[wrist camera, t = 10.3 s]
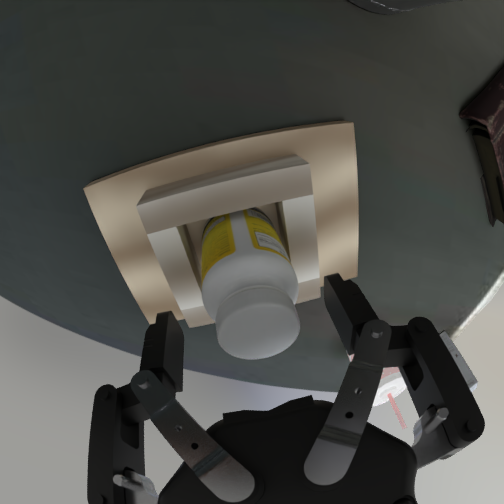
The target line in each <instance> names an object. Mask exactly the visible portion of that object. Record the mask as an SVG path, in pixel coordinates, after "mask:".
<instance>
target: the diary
mask: <svg viewBox="0 0 504 504" xmlns="http://www.w3.org/2000/svg"><path fill="white" fill-rule="evenodd" d="M459 117H460V118H461V119H463V118H468V119H472V120H474V121H473V122H472V123H471V124H470V126H469V128H468V130H469V129H472V128H478V129H477V130H476V132H475V133H474V134H473V138H474V141H475V144H476V147H477V151H478V154H479V157H480V161H481V164H482V168H483V172H484V174H483V176H482V177H481V178H480V179H481V183H482V187H483V191H484V196H485V201H486V206H487V211H488V216H489V220H490V222H491V225H492V227H494V224H495V221H496V220H497V219H498V220H499V221H501V222H502V223H504V67H503V68H502V69H501V70H500V71H499V73H498V74H497V75H496V76H495V77H494V79H493V80H492V81H491V82H490V83H489V84H488V86H487V87H486V88H485V89H484V90H483V91H482V92H481V93H480V94H479V95H478V96H477V97H476V98H475V99H474V100H473V101H472V102H471V103H470V104H469V105H468V106H467V107H466V108H465V109H464V110H463V111H462V112H461V113H460V114H459ZM468 130H467V131H468ZM467 131H466V132H467Z"/></svg>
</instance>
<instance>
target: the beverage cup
mask: <svg viewBox="0 0 504 504" xmlns="http://www.w3.org/2000/svg"><path fill="white" fill-rule="evenodd" d="M346 352H347V351H346ZM347 354H348V353H347ZM348 357H349V359H350V362H351V361H352V359H353V357H354V354H353V355H350V356H349V355H348ZM406 388H407V386H406V384H405V382H404V380H403V377H402V375H401V373H400V371H399V368H398V367H389V368H383V372H382V376H381V379H380V383H379V386H378V390H377V393H376V396H375V399H374V402H373V405H372V407H374V406H377V405H380V404H383V403H385V402H387V401H389V400H390V402H391V405H392V407H393V409H394V411H395V413H396V415H397V417H398V420H399V422H400V424H401V426H402V428H403V429H405V428H406V427H407V426H406V424H405V422H404V420H403V418H402V416H401V413H400V411H399V409H398V407H397V405H396V403H395V401H394V399H393V398H394V397H396V396H397V395H399V394H400V393H401V392H402V391H404V390H405V389H406Z"/></svg>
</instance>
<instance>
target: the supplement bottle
mask: <svg viewBox="0 0 504 504" xmlns="http://www.w3.org/2000/svg"><path fill="white" fill-rule="evenodd" d="M201 273H202V283H201V292H202V300H203V304H204V307H205V309H206V311H207V313H208V315H209V316H210V317H211V318H212V319H213V320H214V321H215V323H216V329H217V338H218V342H219V344H220V346H221V347H222V348H223V349H224V350H225V351H226V352H227V353H229V354H230V355H232V356H235V357H238V358H243V359H261V358H267V357H270V356H273V355H276V354H278V353H280V352H282V351H283V350H285V349H286V348H288V347H289V346H290V345H291V344H292V343H293V342H294V341H295V339H296V338H297V336H298V334H299V331H300V320H299V317H298V314H297V311H296V308H295V303H296V301H297V298H298V292H299V286H298V280H297V276H296V274H295V271H294V269H293V267H292V264H291V262H290V260H289V258H288V256H287V254H286V251H285V249H284V247H283V245H282V243H281V241H280V239H279V237H278V234H277V232H276V230H275V228H274V226H273V224H272V222H271V221H270V219H269V218H268V216H267V215H266V214H265V213H264V212H263V211H261V210H260V209H258V208H256V207H253V208H249V209H244V210H240V211H236V212H232V213H228V214H224V215H219V216H215V217H211V218H209V219H208V221H207V222H206V224H205V226H204V229H203V233H202V270H201Z"/></svg>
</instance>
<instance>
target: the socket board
mask: <svg viewBox="0 0 504 504" xmlns="http://www.w3.org/2000/svg"><path fill="white" fill-rule="evenodd" d="M83 189H84V192H85V194H86V197H87V199H88V202H89V204H90V207H91V209H92V212H93V214H94V216H95V219H96V221H97V223H98V226H99V228H100V230H101V232H102V235H103V237H104V239H105V241H106V243H107V245H108V247H109V250H110V252H111V254H112V256H113V258H114V260H115V262H116V264H117V266H118V268H119V270H120V272H121V274H122V276H123V277H124V279H125V281H126V283H127V285H128V287H129V289H130V290H131V292H132V294H133V296H134V298H135V299H136V301H137V303H138V305H139V306H140V308H141V310H142V312H143V313H144V315H145V317H146V318H147V320H148V322H149V323H150V324H154V323H155V321H156V315H157V313H160V312H165V311H172V312H173V314H174V316H175V318H176V320H181V319H185V320H186V322H187V324H188V326H189V328H192V327H197V326H202V325H207V324H211V323H215V321H214V320H213V319H212V318H211V317H210V316H209V315H208V313H207V311H206V309H205V307H204V304H203V300H202V292H201V283H202V273H201V270H202V233H203V229H204V226H205V224H206V222H207V221H208V219H209V218H211V217H215V216H219V215H224V214H228V213H232V212H236V211H240V210H244V209H249V208H253V207H256V208H258V209H260V210H261V211H263V212H264V213H265V214H266V215H267V216H268V218H269V219H270V221H271V222H272V224H273V226H274V228H275V230H276V232H277V234H278V237H279V239H280V241H281V243H282V245H283V247H284V249H285V251H286V254H287V256H288V258H289V260H290V262H291V264H292V267H293V269H294V271H295V274H296V276H297V280H298V286H299V292H298V298H297V301H296V303H295V304H297V303H301V302H304V301H308V300H312V299H316V298H319V297H320V287H322V286H324V276H327V275H331V274H334V273H339V274H340V276H341V277H342V279H343V280H347V279H350V278H354V277H357V267H358V223H359V221H358V178H357V159H356V145H355V134H354V124H353V122H349V121H345V120H343V121H333V122H324V123H316V124H309V125H301V126H295V127H288V128H282V129H276V130H271V131H265V132H260V133H255V134H250V135H245V136H240V137H236V138H231V139H227V140H222V141H218V142H214V143H210V144H206V145H202V146H198V147H194V148H191V149H187V150H184V151H180V152H177V153H173V154H170V155H166V156H163V157H160V158H157V159H154V160H150V161H147V162H144V163H141V164H138V165H135V166H133V167H130V168H127V169H124V170H121V171H119V172H116V173H113V174H110V175H108V176H105V177H103V178H100V179H98V180H95V181H93V182H90V183H89V184H88V185H87V186H86V187H84V188H83Z"/></svg>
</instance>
